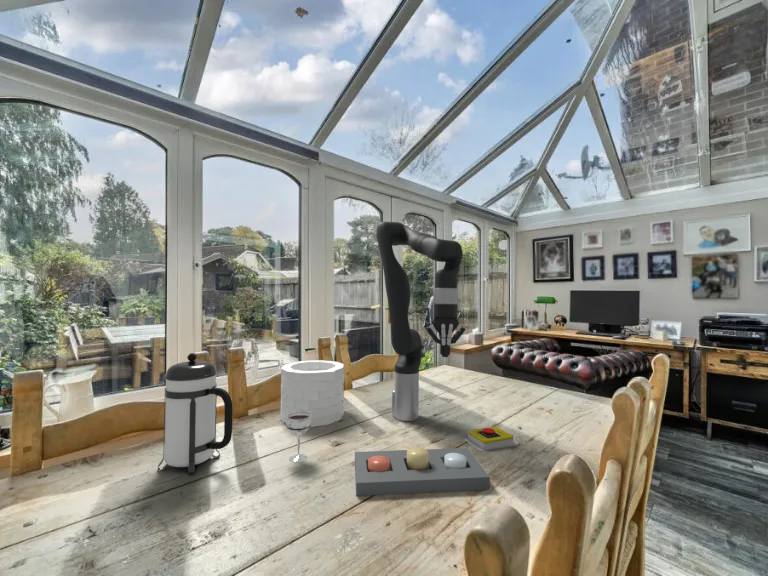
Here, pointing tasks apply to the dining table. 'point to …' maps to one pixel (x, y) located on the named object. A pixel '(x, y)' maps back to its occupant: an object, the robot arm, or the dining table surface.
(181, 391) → the coffee press
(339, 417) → the basket
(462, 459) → the blue button
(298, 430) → the wineglass
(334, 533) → the dining table surface
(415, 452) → the ochre button
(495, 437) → the emergency button
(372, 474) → the control panel
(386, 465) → the red button
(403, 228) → the robot arm
